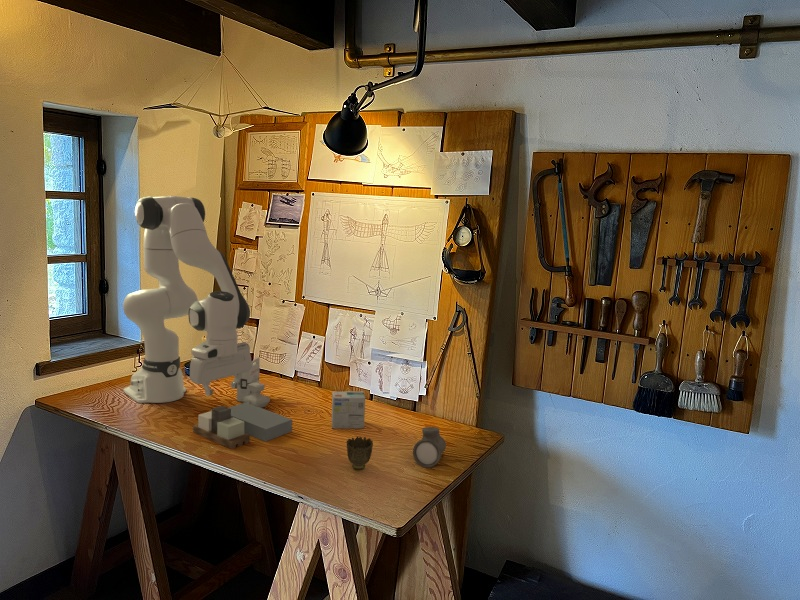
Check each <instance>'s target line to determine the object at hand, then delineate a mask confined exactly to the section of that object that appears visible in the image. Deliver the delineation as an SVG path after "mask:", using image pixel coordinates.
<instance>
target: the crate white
mask: <svg viewBox="0 0 800 600" xmlns="http://www.w3.org/2000/svg"><path fill="white" fill-rule="evenodd" d="M197 421H198V424H197V425H198V427H199V428H201V429H204V430H206V431H208V432H209V431H212V410H210V411H207V412H203V413H200V414H198V419H197Z"/></svg>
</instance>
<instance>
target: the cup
mask: <svg viewBox="0 0 800 600" xmlns="http://www.w3.org/2000/svg"><path fill="white" fill-rule="evenodd" d="M373 445H374V441H373V440H371V438H369V437H368V438H366V437H362V436H356V438H355V437H352V438H348V439H347V440H346V453H347V458H348V461H349V462H350V464H351V467H352V469H353V470H355V471H363V470H364V469H365V468H366V465H367V463H369V462H370V460H371V457H372V452H373Z"/></svg>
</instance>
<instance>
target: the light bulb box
mask: <svg viewBox="0 0 800 600" xmlns="http://www.w3.org/2000/svg"><path fill="white" fill-rule="evenodd" d="M364 393H365V392H364V391H363V390H358V391H354V390H353V391H349V390H348V391H334V390H333V391H332V395H331V399H332V400H331V428H332V430H333V429H364V428H365V419H366V418H365V417H366V416H365V415H366V414H365V413H366V395H365V394H364Z"/></svg>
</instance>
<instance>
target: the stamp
mask: <svg viewBox="0 0 800 600" xmlns="http://www.w3.org/2000/svg"><path fill="white" fill-rule="evenodd" d="M265 386H266V385H265V384H264V383H262V382H261V383H260V382H259V383H258V382H254V383H251V384H248V388H249V390H250V391H252V392H253V394H252V395H249V396H246V397H244V398H243V402H242V403H245V402H246V403H249V404H252V405H254V406H257V407H260V408H264V407H266V406H267V405H268V404H269V403H270V402H271V398H270V397H269V396H268V395H264V394H261V393H262V392H263V391H265V388H266V387H265Z"/></svg>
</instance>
